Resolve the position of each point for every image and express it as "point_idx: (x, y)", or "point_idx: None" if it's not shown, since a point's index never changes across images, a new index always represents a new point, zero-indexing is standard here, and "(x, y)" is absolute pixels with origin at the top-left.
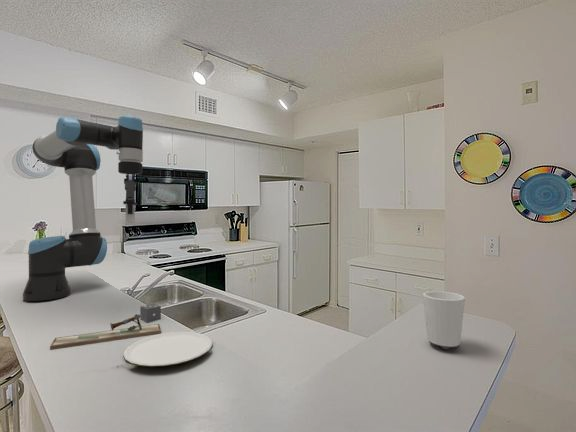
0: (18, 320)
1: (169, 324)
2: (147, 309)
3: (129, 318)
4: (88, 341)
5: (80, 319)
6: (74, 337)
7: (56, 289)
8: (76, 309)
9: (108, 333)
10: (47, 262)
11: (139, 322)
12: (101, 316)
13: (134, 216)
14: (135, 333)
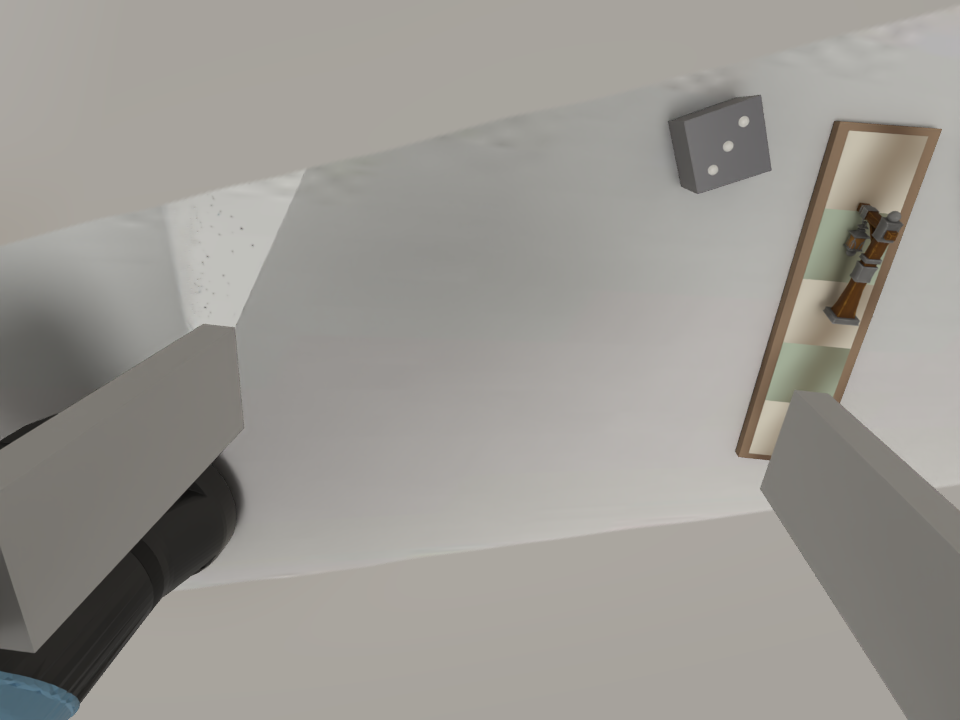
0: (427, 543)
1: (837, 70)
2: (770, 167)
3: (873, 259)
4: (848, 375)
5: (522, 390)
6: (779, 411)
7: (188, 495)
8: (361, 401)
9: (819, 318)
10: (113, 619)
11: (880, 216)
12: (522, 324)
13: (898, 460)
14: None
